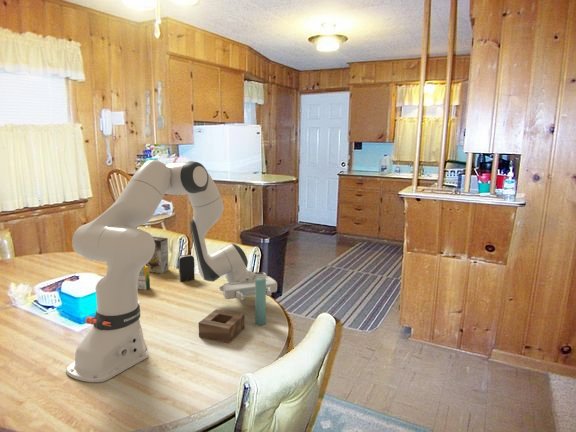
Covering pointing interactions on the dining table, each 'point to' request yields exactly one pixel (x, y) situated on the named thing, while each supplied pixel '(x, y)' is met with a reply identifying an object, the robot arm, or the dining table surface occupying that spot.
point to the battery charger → (186, 267)
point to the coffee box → (159, 256)
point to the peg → (260, 301)
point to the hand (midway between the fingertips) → (257, 295)
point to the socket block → (221, 326)
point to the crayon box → (144, 278)
